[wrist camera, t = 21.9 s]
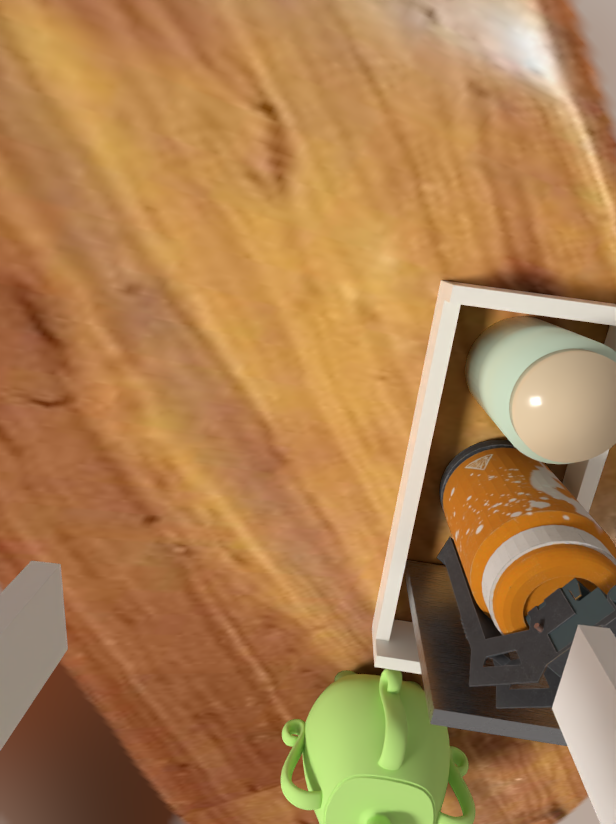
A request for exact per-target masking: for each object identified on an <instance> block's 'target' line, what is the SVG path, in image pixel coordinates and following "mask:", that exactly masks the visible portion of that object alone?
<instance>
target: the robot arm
mask: <svg viewBox="0 0 616 824" xmlns="http://www.w3.org/2000/svg"><path fill="white" fill-rule="evenodd" d="M67 649H68V646H67V635H66V623H65V611H64V599H63V588H62V576H61V564H55V563H46V562H38V561H31V562H30V563H29V564H28V565H27V566H26V567H25V568H24V569H23V570H22V571H21V572H20V573H19V575H18V576H17V577H16V578H15V579H14V580H13V581H12V582H11V583H10V584H9V585H8V586H7V587H6V588H5V589H4V590H3V592H2V593H1V594H0V750H1V749H2V747H3V746H4V744H5V743H6V741H7V740H8V738H9V737H10V735H11V734H12V732H13V731H14V729H15V728H16V726H17V725H18V723H19V722H20V720H21V719H22V717H23V716H24V714H25V713H26V711H27V709H28V708H29V706H30V705H31V704H32V702H33V701H34V699H35V697H36V696H37V694H38V693H39V691H40V690H41V688H42V687H43V685H44V684H45V682H46V681H47V679H48V678H49V676H50V675H51V673H52V672H53V670H54V669H55V667H56V666H57V664H58V663H59V661H60V660H61V658H62V657H63V655H64V654H65V652H66V651H67ZM552 710H553V712H554V715H555V717H556V720H557V722H558V724H559V727H560V729H561V731H562V734H563V736H564V739H565V741H566V743H567V746H568V748H569V751H570V753H571V755H572V758H573V760H574V762H575V765H576V767H577V770H578V772H579V774H580V777H581V779H582V781H583V784H584V786H585V789H586V791H587V793H588V796H589V798H590V800H591V803H592V805H593V808H594V810H595V812H596V815H597V817H598V819H599V822H600V824H616V637H615V636H614V634H613V633H612V631H611V630H610V628H603V627H594V626H586V625H578V627H577V630H576V633H575V636H574V640H573V643H572V646H571V649H570V652H569V655H568V659H567V662H566V665H565V668H564V671H563V675H562V678H561V681H560V684H559V687H558V690H557V694H556V697H555V700H554V703H553V706H552Z"/></svg>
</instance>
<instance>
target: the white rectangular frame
mask: <svg viewBox="0 0 616 824" xmlns="http://www.w3.org/2000/svg"><path fill="white" fill-rule="evenodd" d="M461 305H467V306H475V307H482V308H489V309H497V310H504V311H511V312H519V313H526V314H533V315H541V316H548V317H555V318H563V319H570V320H577V321H585V322H592V323H599V324H606V325H610V326H609V329H608V333H607V336H606V339H605V343H604V345H606V346H608V347H610V348H611V349H613V350H614V351H615V352H616V304H613V303H605V302H598V301H591V300H583V299H576V298H568V297H561V296H554V295H546V294H539V293H532V292H524V291H517V290H509V289H502V288H495V287H487V286H480V285H473V284H465V283H458V282H450V281H443V280H441V282H440V287H439V292H438V297H437V302H436V307H435V312H434V317H433V322H432V327H431V332H430V337H429V342H428V347H427V352H426V357H425V362H424V367H423V372H422V378H421V383H420V388H419V393H418V398H417V403H416V408H415V413H414V418H413V423H412V428H411V433H410V438H409V443H408V448H407V453H406V458H405V463H404V468H403V473H402V478H401V483H400V488H399V493H398V498H397V503H396V508H395V513H394V518H393V523H392V528H391V533H390V538H389V543H388V548H387V553H386V558H385V564H384V569H383V574H382V579H381V584H380V589H379V594H378V599H377V604H376V609H375V614H374V619H373V624H372V636H373V652H374V667H379V668H385V669H391V670H398V671H404V672H410V673H417V674H422V673H421V667H420V662H419V656H418V650H417V644H416V638H415V632H414V627H413V622H408V621H401V620H395V619H394V616H395V611H396V606H397V602H398V597H399V592H400V588H401V583H402V578H403V574H404V569H405V564H406V559H407V555H408V550H409V545H410V541H411V536H412V531H413V527H414V522H415V517H416V513H417V508H418V503H419V498H420V494H421V489H422V484H423V480H424V475H425V470H426V466H427V461H428V456H429V451H430V447H431V442H432V437H433V433H434V428H435V423H436V419H437V414H438V409H439V405H440V400H441V395H442V390H443V386H444V381H445V376H446V372H447V367H448V362H449V358H450V353H451V348H452V344H453V339H454V334H455V329H456V325H457V320H458V315H459V311H460V306H461ZM608 452H609V449H608V450H607V451H605V452H604V453H602V454H600V455H598V456H596V457H594V458H591V459H589V460H585V461H581V462H575V463H569V464H568V465H567V469H566V472H565V475H564V479H563V482H562V484H563V485H564V486H565V487H566V488H567V489H568V491H569V492H570V493H571V494H572V495H573V496H574V497H575V499H576V500H577V501H578V502H579V503H580V504H581V505H582V506H583V508H584V509H585V510H586V511H587V512H588V513H589V510H590V507H591V504H592V501H593V498H594V495H595V492H596V489H597V485H598V482H599V479H600V476H601V473H602V470H603V467H604V464H605V461H606V458H607V455H608Z"/></svg>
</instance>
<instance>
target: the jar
mask: <svg viewBox="0 0 616 824" xmlns="http://www.w3.org/2000/svg"><path fill="white" fill-rule="evenodd" d="M465 376H466V382H467V386H468V388H469V390H470V392H471V394H472V396H473V397H474V398H475V400H476V401H477V402H478V403H479V404H480V406H481V407H482V408H483V409H484V410H485V412H486V413H487V414H488V415H489V417H490V418H491V419H492V420H493V421H494V423H495V424H496V425H497V426H498V427H499V429H500V430H501V431H502V432H503V434H504V435H505V436H506V437H507V438H508V440H509V441H510V442H511V443H512V444H513V446H514V447H515V448H517V449H518V450H519V451H520V452H521V453H523V454H524V455H526V456H528V457H530V458H532V459H534V460H537V461H540V462H544V463H549V464H569V463H575V462H581V461H585V460H589V459H591V458H594V457H596V456H598V455H600V454H602V453H604V452H605V451H607V450H608V449H610V448H611V447H612V446H613V445H615V444H616V352H615V351H614V350H613V349H611V348H610V347H608V346H606V345H604V344H602V343H599V342H597V341H594V340H592V339H589V338H587V337H584V336H581V335H579V334H576V333H574V332H571V331H569V330H566V329H563V328H561V327H558V326H556V325H553V324H551V323H548V322H545V321H543V320H540V319H537V318H533V317H525V316H521V317H512V318H508V319H504V320H501V321H499V322H497V323H495V324H493V325H492V326H490V327H489V328H487V329H486V330H485V331H484V332H483V333H482V334H481V335H480V336H479V337H478V338H477V339H476V341H475V342H474V343H473V345H472V347H471V349H470V351H469V353H468V356H467V360H466V365H465Z"/></svg>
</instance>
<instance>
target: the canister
mask: <svg viewBox="0 0 616 824" xmlns="http://www.w3.org/2000/svg"><path fill="white" fill-rule="evenodd" d="M439 494H440V502H441V505H442V508H443V511H444V514H445V517H446V520H447V523H448V526H449V528H450V531H451V534H452V537H453V539H452V538H451V537H449V539H448V540H447V542H446V543H445V545H444V547H443V548H442V550H441V551H440V553H439V555H438V556H437V558H438V559H439V560H440V561H441V562H442V563H443V564H445V565H446V568H447V571H448V575H449V578H450V581H451V585H452V588H453V591H454V595H455V598H456V601H457V605H458V608H459V611H460V615H461V617H460V620H461V621H462V622H461V623H462V625H463V629H464V633H465V636H466V639H467V640H468V641H469V645H470V648H471V661H470V677H469V686H470V687H476V686H492V685H496V708H497V709H502V708H551V707H552V706H553V703H554V700H555V697H556V694H557V690H558V687H559V684H560V681H561V678H562V675H563V671H564V668H565V665H566V662H567V659H568V655H569V652H570V649H571V646H572V643H573V640H574V636H575V633H576V630H577V627H578V625H586V626H594V627H603V628H610V630H611V631H612V633H613V634H614V636H615V637H616V548H615V545H614V544H613V542H612V540H611V539H610V537H609V536H608V535H607V534H606V532H605V531H604V530H603V529H602V528H601V527H600V526H599V525H598V523H597V522H596V521H595V520H594V519H593V518H592V517H591V515H590V514H589V513H588V512H587V511H586V510H585V509H584V508H583V506H582V505H581V504H580V503H579V502H578V501H577V500H576V499H575V497H574V496H573V495H572V494H571V493H570V492H569V491H568V489H567V488H566V487H565V486H564V485H563V484H562V483H561V482H560V480H559V479H558V478H557V477H556V476H555V475H554V474H553V472H552V471H551V470H550V469H549V468H548V467H547V466H546V465H545V463H544V462H540V461H537V460H534V459H532V458H530V457H528V456H526V455H524V454H523V453H521V452H520V451H519V450H518V449H517V448H515V447H514V446H513V444H512V443H511V442H510V441H507V440H490V441H484V442H480V443H477V444H475V445H472V446H470V447H468V448H467V449H465V450H463V451H462V452H461V453H459V454H458V455H457V456H456V457H455V458H454V459H453V460H452V461H451V462H450V463H449V465H448V466H447V468H446V469H445V471H444V474H443V476H442V479H441V482H440V490H439ZM501 634H502V635H501ZM513 651H516V652H517V654H518V657H519V659H516V660H511V658H510V655H509V652H513ZM488 657H489V658H490V659H493V662H494V665H495V666H493V667H484V666H485V662H486V659H487V658H488ZM543 674H544V676H545V678H546V681H547V683H548V685H549V688H531V689H511V686H512V684H524V683H539V682H540V680H541V678H542V676H543Z"/></svg>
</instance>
